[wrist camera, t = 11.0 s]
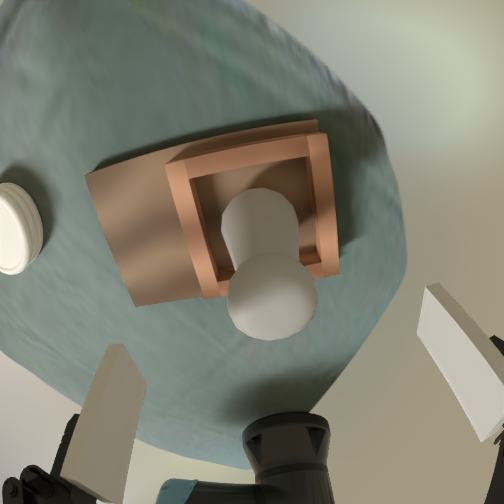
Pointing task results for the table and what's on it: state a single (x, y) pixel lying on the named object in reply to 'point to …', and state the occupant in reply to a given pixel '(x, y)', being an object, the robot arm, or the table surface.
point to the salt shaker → (266, 266)
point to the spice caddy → (211, 207)
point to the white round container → (18, 229)
